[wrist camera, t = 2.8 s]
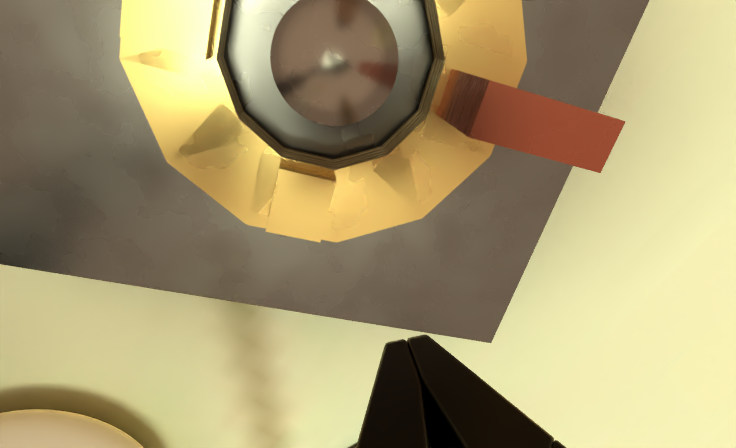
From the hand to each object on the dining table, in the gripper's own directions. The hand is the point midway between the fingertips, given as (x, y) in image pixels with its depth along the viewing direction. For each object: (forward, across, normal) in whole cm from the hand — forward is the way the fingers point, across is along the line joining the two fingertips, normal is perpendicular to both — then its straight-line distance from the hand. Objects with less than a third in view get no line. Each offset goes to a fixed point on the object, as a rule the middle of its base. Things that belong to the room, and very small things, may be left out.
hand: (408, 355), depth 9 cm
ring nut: (+10, -1, -5) cm, 11 cm away
